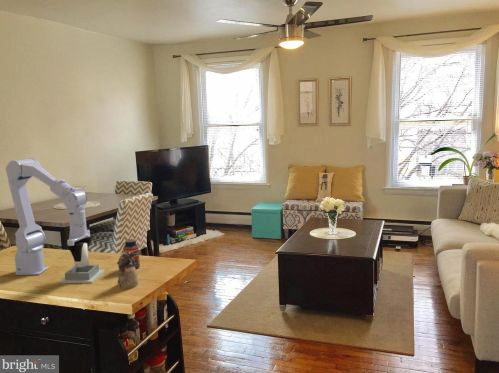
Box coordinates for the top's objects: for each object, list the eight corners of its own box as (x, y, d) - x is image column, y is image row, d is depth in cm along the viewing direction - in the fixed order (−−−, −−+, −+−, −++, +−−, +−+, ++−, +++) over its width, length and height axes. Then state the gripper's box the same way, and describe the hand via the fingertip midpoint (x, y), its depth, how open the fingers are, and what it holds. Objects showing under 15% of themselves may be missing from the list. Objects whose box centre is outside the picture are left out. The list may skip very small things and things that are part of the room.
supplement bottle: (135, 271, 166) (133, 242, 164) (121, 270, 167) (119, 242, 166) (142, 265, 172) (140, 238, 170) (128, 265, 173) (126, 238, 171)
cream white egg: (72, 267, 159) (70, 246, 157) (78, 262, 163) (76, 242, 162) (85, 267, 158) (83, 246, 157) (91, 262, 163) (89, 242, 162)
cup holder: (59, 283, 156) (58, 274, 156) (74, 271, 168) (73, 263, 167) (91, 282, 155) (91, 274, 155) (104, 271, 167) (103, 263, 167)
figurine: (120, 281, 156) (117, 249, 154) (140, 280, 156) (137, 248, 154) (115, 289, 149) (113, 256, 147) (136, 288, 149) (134, 255, 147)
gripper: (79, 228, 151) (83, 265, 153) (96, 218, 165) (99, 252, 167) (60, 228, 151) (63, 265, 153) (78, 218, 166) (81, 252, 168)
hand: (81, 258), depth 160 cm, fingers closed on cream white egg, 5 cm apart
